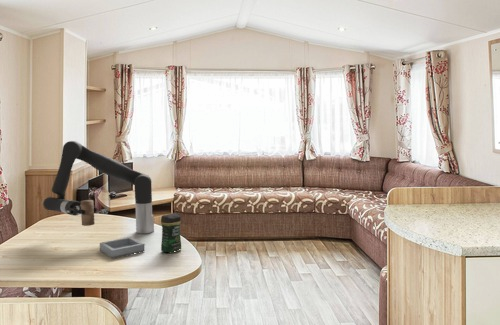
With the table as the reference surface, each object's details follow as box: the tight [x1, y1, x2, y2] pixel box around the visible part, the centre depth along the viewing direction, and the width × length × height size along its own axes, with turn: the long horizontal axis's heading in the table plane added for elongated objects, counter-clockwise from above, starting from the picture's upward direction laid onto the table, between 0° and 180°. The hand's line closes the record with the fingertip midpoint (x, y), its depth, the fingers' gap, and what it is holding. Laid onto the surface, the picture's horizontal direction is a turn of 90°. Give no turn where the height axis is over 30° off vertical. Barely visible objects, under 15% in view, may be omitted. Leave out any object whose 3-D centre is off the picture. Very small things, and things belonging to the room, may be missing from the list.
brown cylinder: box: [80, 199, 95, 227], centre depth 213 cm, size 6×6×12 cm
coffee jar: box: [160, 212, 182, 253], centre depth 207 cm, size 10×8×19 cm
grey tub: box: [99, 236, 146, 260], centre depth 207 cm, size 16×16×4 cm
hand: (90, 211), depth 211 cm, fingers closed on brown cylinder, 6 cm apart
